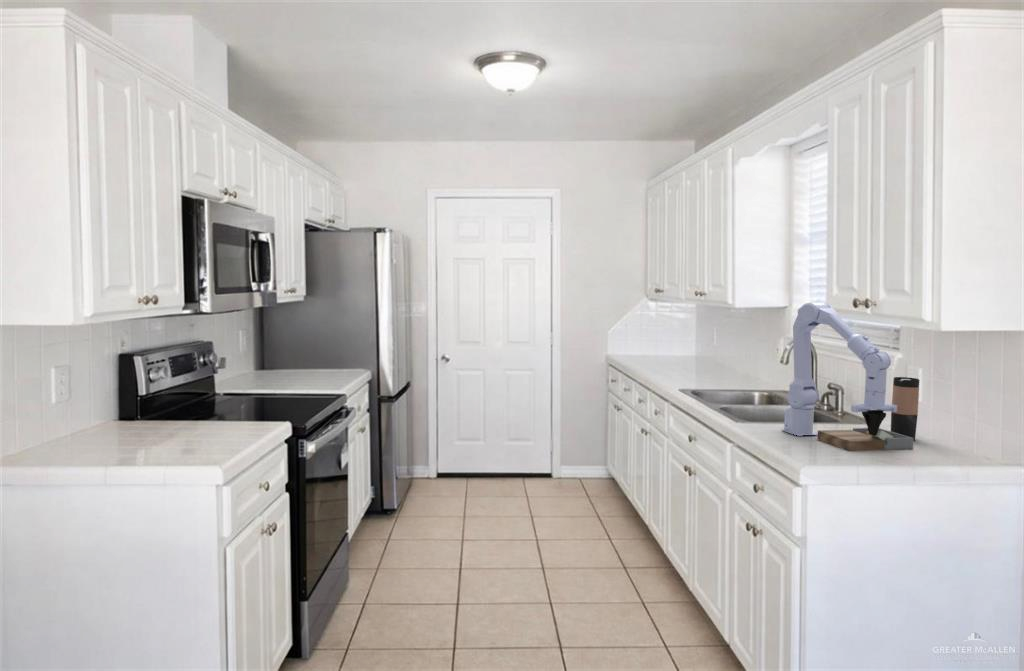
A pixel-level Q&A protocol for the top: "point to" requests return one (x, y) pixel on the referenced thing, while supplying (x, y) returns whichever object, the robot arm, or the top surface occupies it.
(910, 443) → the box
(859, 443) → the board
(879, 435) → the tile sage
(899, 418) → the travel mug
